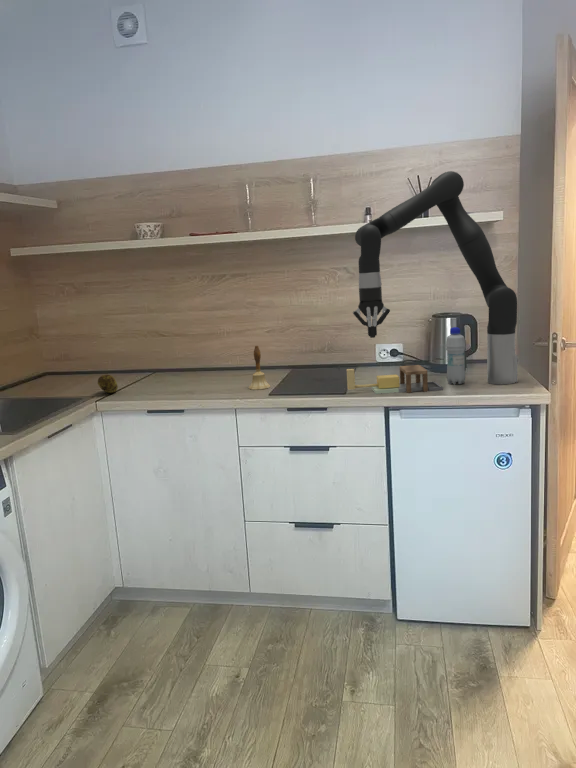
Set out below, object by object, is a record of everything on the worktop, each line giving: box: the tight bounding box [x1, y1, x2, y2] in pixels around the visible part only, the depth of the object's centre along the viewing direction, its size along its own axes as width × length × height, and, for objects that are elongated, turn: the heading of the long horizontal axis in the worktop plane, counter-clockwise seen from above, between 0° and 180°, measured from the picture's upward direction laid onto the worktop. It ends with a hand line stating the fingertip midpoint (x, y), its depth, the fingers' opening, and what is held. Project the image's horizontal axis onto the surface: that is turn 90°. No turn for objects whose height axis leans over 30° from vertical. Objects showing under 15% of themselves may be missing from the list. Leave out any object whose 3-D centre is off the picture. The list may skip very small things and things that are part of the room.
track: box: [371, 382, 423, 395], centre depth 219 cm, size 18×8×1 cm, turn 92°
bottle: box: [445, 326, 466, 386], centre depth 221 cm, size 7×7×20 cm
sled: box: [346, 368, 400, 391], centre depth 218 cm, size 18×5×7 cm, turn 92°
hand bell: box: [248, 345, 271, 391], centre depth 238 cm, size 8×8×16 cm
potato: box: [97, 374, 119, 394], centre depth 246 cm, size 8×13×8 cm, turn 174°
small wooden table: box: [399, 364, 429, 394], centre depth 219 cm, size 7×12×7 cm, turn 1°
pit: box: [420, 381, 444, 392], centre depth 219 cm, size 5×11×1 cm, turn 2°
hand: (372, 337), depth 215 cm, fingers closed
